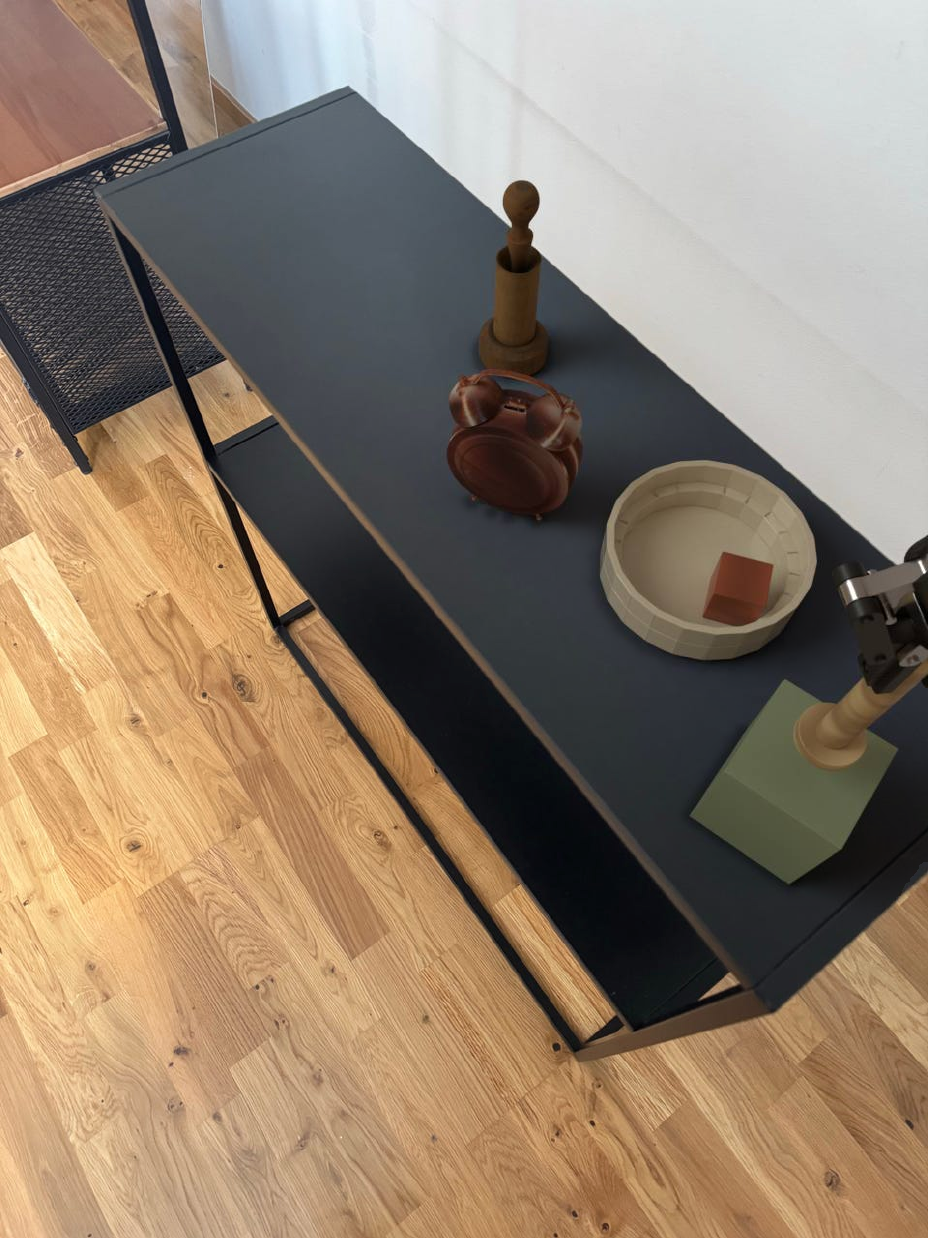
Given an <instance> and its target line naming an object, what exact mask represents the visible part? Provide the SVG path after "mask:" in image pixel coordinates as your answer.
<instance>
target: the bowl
mask: <svg viewBox="0 0 928 1238" xmlns="http://www.w3.org/2000/svg"><path fill="white" fill-rule="evenodd" d="M722 552H727V553H731V554H735V555H739V556H743V557H747V558H751V559H755V560H758V561H762V562H766V563H770V564H773V565H774V566H773V571H772V577H771V582H770V587H769V593H768V598H767V604H766V607H765V609H764V610H763V612H762V614H761V616H760V617H759V619H758V620H757V621H755V622H753V623H750V624H747V625H744V626H738V627H736V626H732V625H728V624H725V623H721V622H717V621H713V620H710V619H706V618H703V617H702V615H703V610H704V606H705V602H706V597H707V593H708V588H709V584H710V579H711V576H712V574H713V572H714V570H715V567H716V565H717V563H718V561H719V559H720V557H721V554H722ZM599 554H600V555H599V578H600V581H601V584H602V588H603V590H604V593H605V596H606V600H607V601H608V603H609V605H610V606H611V608H612V609H613V610H614V612H615V614H616V615H617V616H618V618H619V619H620V621H621V623H623V624H624V625H625V626H627V627H628V628H629V629H630V630H631V631H632V632H634V633H635V634H636V635H638V637H640V638H641V639H642V640H643V641H645V642H646V643H648V644H651V645H653V646H655V647H657V648H659V649H661V650H663V651H664V652H667V653H670V654H671V655H676V656H680V657H684V658H690V659H695V660H699V661H713V660H730V659H731V660H732V659H735V658H738V657H741V656H744V655H747V654H750V653H752V652H755V651H759V650H760V649H761V648H763V647H764V646H765V645H767V644H768V643H770V642H771V641H772V640H774V639H775V638H776V637H778V636H779V635H780V634H781V633H782V631H783V630H784V628H785V627H786V625H787V624H788V622H789V621H790V620H791V618H792V617H793V615H794V613H795V612H796V610H797V609H798V607H799V606H800V604H801V603H802V601H803V600H804V598H805V597H806V595H807V594H808V592H809V591H810V590H811V587H812V586H813V581H814V576H815V573H816V568H817V565H818V559H817V551H816V543H815V536H814V533H813V532H812V530H811V528H810V525H809V523H808V521H807V519H806V517H805V515H804V513H803V512H802V510H801V509H800V508H799V507H798V506H797V504H795V502H794V501H793V500H792V499H791V498H790V497H789V495H788V494H787V493H786V492H785V491H783V490H782V489H781V488H779V487H778V486H776V485H775V484H774V483H772V482H771V481H769V480H768V479H766V478H765V477H764V476H762V475H760V474H758V473H755V472H753V471H751V470H749V469H746V468H744V467H741V466H738V465H736V464H731V463H725V462H719V461H714V460H709V459H707V460H706V459H701V460H699V459H698V460H683V461H682V460H681V461H680V460H679V461H676V462H672V463H669V464H666V465H662V466H659V467H655V468H653V469H650V470H649V471H648V472H646V473H645V474H643V475H641V476H639V477H638V478H636V479H635V480H633V481H631V482H630V484H629V485H628V486H627V487H626V488H625V489H624V491H623V492H622V493H621V494H620V495H619V496H618V498H617V499H616V500H615V502H614V504H613V507H612V509H611V512H610V515H609V518H608V520H607V523H606V527H605V531H604V536H603V540H602V545H601V548H600V553H599Z"/></svg>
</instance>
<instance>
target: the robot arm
mask: <svg viewBox="0 0 928 1238" xmlns="http://www.w3.org/2000/svg"><path fill="white" fill-rule="evenodd" d="M831 574H832V577H833V580H834V583H835V585H836V588H837V590H838V592H839V596H840V598H841V601H842V603H843V606H844V608H845V612H846V614H847V616H848V619H849V621H850V624H851V627H852V630H853V632H854V635H855V637H856V640H857V642H858V645H859V648H860V650H861V652H860V654H859V655H858V656H857V663H858V665H859V668H860V671H861V673H862V674H861V675H862V676H863V677H864V679H865V681H866V684H867V686H871V688H872V690H873V692H874V693H875V694H885V693H892V692H893V691H894V690H895V689H896V688H897V687H898V686H899V685H900V684H901V683H903V682H904V681H905V680H906V679H907V678H908V677H909V676H910V675H911V674H912V673H913V672H914V671H915V670H916V669H917V668H918V667H919V666H920V665H921V664H922V662H923V661H925V660H926V659H927V658H928V534H926V535H925V536H923V537H922V538H919V540H917V541H915V542H914V543H913V544H912V545H910V547H908V549H907V550H906V552H905V553H904V556H903V562H901V563H898V564H896V565H893V566H890V567H887V568H885V569H881V570H877V569H869V570H867V571H866V569H865V567H864V565H863V563H862V562H861V561H858V560H854V561H848V562H845V563H842V564H840V565H838V566H837V567H835V568H834V569H833V571H832V572H831ZM914 625H915V626H914ZM915 627H916V628H915ZM920 682H921V683H922V685H923V687H925V688H926V689H928V675H927V676H926V677H925V678H924V679H922V680H921V681H920Z"/></svg>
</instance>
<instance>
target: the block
mask: <svg viewBox="0 0 928 1238" xmlns="http://www.w3.org/2000/svg"><path fill="white" fill-rule="evenodd" d="M773 566H774V565H773V564H770V563H766V562H762V561H758V560H755V559H751V558H747V557H743V556H739V555H735V554H731V553H727V552H722V554H721V557H720V559H719V561H718V563H717V565H716V567H715V570H714V572H713V574H712V576H711V579H710V584H709V588H708V593H707V597H706V602H705V606H704V610H703V615H702V617H703V618H706V619H710V620H713V621H717V622H721V623H725V624H728V625H732V626H736V627H738V626H744V625H747V624H750V623H753V622H755V621H757V620H758V619H759V617H760V616H761V614H762V612H763V610H764V609H765V607H766V604H767V598H768V593H769V587H770V582H771V577H772V571H773Z"/></svg>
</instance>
